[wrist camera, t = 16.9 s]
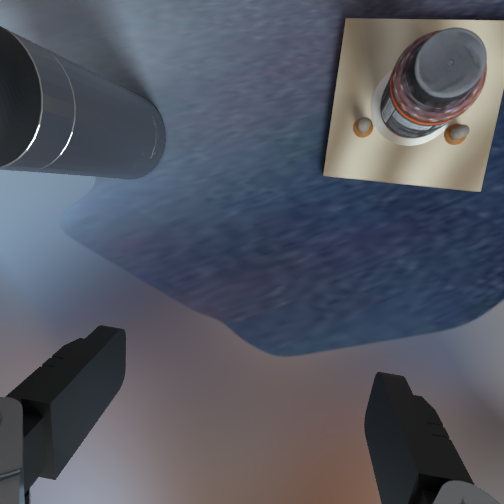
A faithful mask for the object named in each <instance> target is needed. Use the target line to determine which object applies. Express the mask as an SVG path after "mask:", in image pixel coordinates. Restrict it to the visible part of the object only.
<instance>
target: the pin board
mask: <svg viewBox="0 0 504 504" xmlns="http://www.w3.org/2000/svg"><path fill="white" fill-rule="evenodd" d="M453 27H457V28H464V29H468V30H470V31H472V32H474V33H475V34H476V35H478V36H479V38H481V40H482V42H483V43H484V45H485V48H486V53H487V61H486V62H487V76H486V80H485V84H484V87H483V89H482V91H481V93H480V95H479V96H478V98H477V99H476V101H475V102H474V103H473V104H472V105H471V106H470V107H469V108H468V109H467V110H466V111H465V112H464V113H462V114H461V115H460V116H458V117H456V118H455V119H453V120H452V121H450V122H449V123H447V124H446V125H444V126H443V127H441V128H439V129H438V130H436V131H434V132H433V133H431V134H429V135H426V136H424V137H420V138H414V139H411V138H403V137H400V136H397V135H396V134H394V133H392V132H391V131H390V130H389V129H388V128H387V127H386V126H385V124H384V122H383V120H382V117H381V113H380V104H381V98H382V95H383V92H384V89H385V87H386V85H387V83H388V80H389V78H390V76H391V73H392V70H393V68H394V67H395V64H396V62H397V60H398V59H399V57H400V55H401V54H402V52H403V51H404V50H405V49H406V48H407V47H408V46H409V45H410V44H411V43H412V42H414V41H415V40H416V39H418V38H420V37H421V36H423V35H425V34H427V33H430V32H434V31H438V30H444V29H448V28H453ZM503 90H504V20H435V19H366V18H346V21H345V27H344V34H343V41H342V48H341V55H340V62H339V69H338V76H337V83H336V90H335V97H334V104H333V111H332V118H331V125H330V131H329V138H328V145H327V152H326V159H325V166H324V173H323V176H329V177H339V178H348V179H358V180H368V181H377V182H387V183H397V184H406V185H416V186H426V187H435V188H445V189H455V190H464V191H474V192H481V188H482V183H483V179H484V174H485V170H486V165H487V161H488V156H489V152H490V147H491V143H492V139H493V134H494V130H495V125H496V121H497V116H498V112H499V107H500V103H501V98H502V94H503Z"/></svg>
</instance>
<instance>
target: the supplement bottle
mask: <svg viewBox="0 0 504 504" xmlns="http://www.w3.org/2000/svg"><path fill="white" fill-rule="evenodd" d="M486 61H487V53H486V48H485V45H484V43H483V42H482V40H481V38H479V36H478V35H476V34H475V33H474V32H472V31H470V30H468V29H464V28H457V27H453V28H448V29H444V30H438V31H434V32H430V33H427V34H425V35H423V36H421V37H420V38H418V39H416V40H415V41H414V42H412V43H411V44H410V45H409V46H408V47H407V48H406V49H405V50H404V51H403V52H402V54H401V55H400V57H399V59H398V60H397V62H396V64H395V67H394V68H393V70H392V73H391V76H390V78H389V80H388V83H387V85H386V87H385V89H384V92H383V95H382V98H381V104H380V113H381V117H382V120H383V122H384V124H385V126H386V127H387V128H388V129H389V130H390V131H391V132H392V133H394V134H396V135H397V136H400V137H403V138H411V139H414V138H420V137H424V136H426V135H429V134H431V133H433V132H434V131H436V130H438V129H439V128H441V127H443V126H444V125H446V124H447V123H449V122H450V121H452V120H453V119H455V118H456V117H458V116H460V115H461V114H462V113H464V112H465V111H466V110H467V109H468V108H469V107H470V106H471V105H472V104H473V103H474V102H475V101H476V99H477V98H478V96H479V95H480V93H481V91H482V89H483V87H484V84H485V80H486V76H487V62H486Z"/></svg>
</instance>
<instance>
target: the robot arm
mask: <svg viewBox="0 0 504 504" xmlns="http://www.w3.org/2000/svg"><path fill="white" fill-rule="evenodd" d="M164 147H165V128H164V124H163V121H162V118H161V116H160V114H159V112H158V111H157V109H156V108H155V107H154V106H153V105H152V104H151V103H150V102H149V101H148V100H146V99H145V98H143V97H141V96H139V95H137V94H135V93H133V92H131V91H129V90H127V89H125V88H123V87H122V86H120V85H118V84H116V83H114V82H112V81H110V80H108V79H106V78H104V77H102V76H100V75H98V74H96V73H94V72H92V71H89V70H87V69H85V68H83V67H81V66H79V65H77V64H75V63H73V62H71V61H69V60H67V59H65V58H63V57H61V56H59V55H57V54H55V53H53V52H51V51H49V50H47V49H45V48H43V47H41V46H39V45H37V44H35V43H33V42H31V41H29V40H27V39H25V38H23V37H21V36H19V35H17V34H15V33H13V32H11V31H9V30H7V29H5V28H3V27H1V26H0V170H11V171H29V172H41V173H56V174H68V175H82V176H96V177H107V178H121V179H135V178H139V177H142V176H144V175H146V174H147V173H149V172H150V171H151V170H152V169H153V168H154V167H155V166H156V165H157V164H158V162H159V160H160V159H161V157H162V154H163V151H164ZM125 361H126V334H125V330H124V329H120V328H114V327H108V326H102V325H101V326H98V327H97V328H96V329H95V330H94V331H93V332H92V333H91V334H90V335H88V337H86V338H85V339H83V338H79V339H77V340H75V341H73V342H70V343H69V344H66V345H64V346H63V347H62V348H61V349H59V351H57V352H56V353H55V354H54V355H53V356H52V358H49V359H48V360H47V361H46V362H45V363H43V365H42V367H39V368H38V369H37V370H35V371H34V372H33V373H32V374H31V375H30V376H29V377H27V379H25V380H24V381H23V382H22V383H21V384H20V385H18V386H17V387H16V388H15V389H14V390H13V391H12V392H11V393H9V394H8V395H7V396H6V397H0V504H31V494H30V487H31V486H32V485H33V483H34V482H35V481H36V479H37V478H38V477H43V478H48V479H53V480H56V478H57V477H58V475H59V474H60V473H61V471H62V470H63V468H64V467H65V466H66V464H67V463H68V461H69V460H70V458H71V457H72V456H73V454H74V453H75V452H76V450H77V449H78V447H79V446H80V445H81V443H82V442H83V440H84V439H85V437H86V436H87V435H88V433H89V432H90V430H91V429H92V428H93V426H94V425H95V423H96V422H97V421H98V419H99V418H100V416H101V415H102V414H103V412H104V411H105V409H106V407H108V405H109V404H110V402H111V401H112V400H113V398H114V397H115V395H116V394H117V393H118V391H119V390H120V387H121V385H122V383H123V380H124V376H125V367H126V362H125ZM364 423H365V424H364V425H365V427H364V428H365V436H366V440H367V445H368V449H369V453H370V457H371V461H372V465H373V469H374V474H375V478H376V482H377V486H378V490H379V494H380V498H381V503H382V504H500V503H499V502H498V501H497V500H496V499H495V498H493V497H492V496H491V495H490V494H488V493H487V492H485V491H484V490H482V489H481V488H479V487H477V486H475V485H474V483H473V481H472V479H471V477H470V475H469V473H468V472H467V470H466V468H465V466H464V464H463V462H462V460H461V458H460V456H459V454H458V453H457V451H456V449H455V447H454V445H453V443H452V441H451V440H449V436H448V434H447V432H446V430H445V428H443V424H442V422H441V420H440V418H439V416H438V414H437V413H436V411H435V409H433V407H431V405H430V404H429V403H427V401H425V399H424V398H423V397H422V396H416V395H413V394H412V391H411V389H410V387H409V385H408V383H407V381H406V379H405V377H404V376H400V375H394V374H388V373H382V372H378V373H377V374H376V376H375V378H374V383H373V386H372V390H371V394H370V398H369V402H368V405H367V410H366V414H365V422H364Z"/></svg>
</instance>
